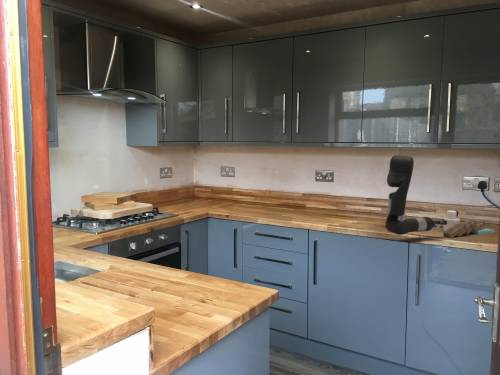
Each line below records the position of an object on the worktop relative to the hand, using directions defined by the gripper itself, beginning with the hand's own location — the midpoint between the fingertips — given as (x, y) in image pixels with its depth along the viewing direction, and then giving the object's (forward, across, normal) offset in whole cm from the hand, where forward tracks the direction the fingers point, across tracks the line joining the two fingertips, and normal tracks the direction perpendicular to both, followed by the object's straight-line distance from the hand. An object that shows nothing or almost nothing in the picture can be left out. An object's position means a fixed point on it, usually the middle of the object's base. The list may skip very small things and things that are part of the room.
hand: (445, 222), depth 224 cm
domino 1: (+1, -1, +7) cm, 7 cm away
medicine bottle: (+16, +11, +8) cm, 21 cm away
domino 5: (+23, +1, +8) cm, 24 cm away
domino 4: (+21, +2, +6) cm, 22 cm away
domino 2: (+6, 0, +7) cm, 10 cm away
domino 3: (+13, 0, +7) cm, 15 cm away
